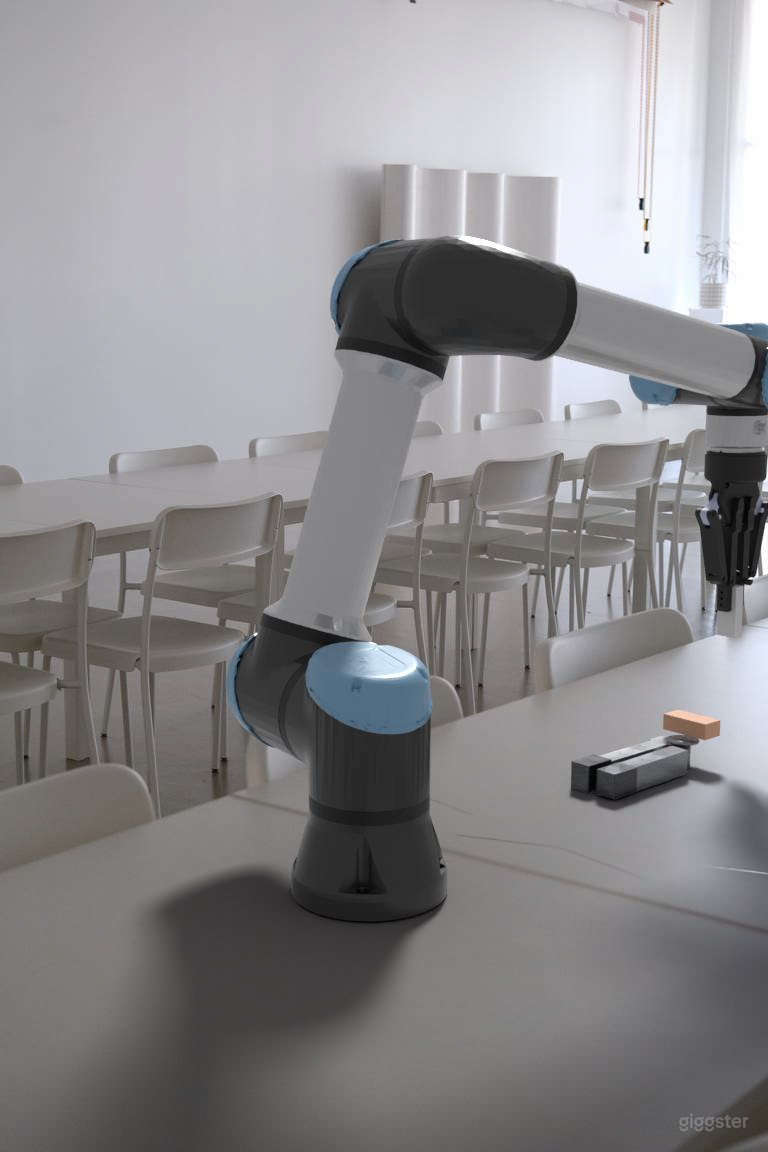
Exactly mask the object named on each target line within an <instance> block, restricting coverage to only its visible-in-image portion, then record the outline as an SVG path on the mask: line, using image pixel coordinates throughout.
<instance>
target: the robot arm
mask: <svg viewBox="0 0 768 1152" xmlns="http://www.w3.org/2000/svg"><path fill="white" fill-rule="evenodd" d="M337 273H338V274H337V276H336V277H335V280H334V282H333V284H332V288H331V293H330V298H329V299H330V300H329V301H330V302H329V304H330V305H329V310H330V316H331V320H333V321H334V324H335V326H334V329H335V332H336V333H337V335H338V338H337V343H336V347H335V350H334V354H333V356H334V358H335V360H336V361H337V363H338V365H339V367H340V370H341V371H342V375H343V376H342V379H341V383H340V387H339V391H338V394H337V398H336V402H335V406H334V409H333V412H332V416H331V420H330V424H329V427H328V431H327V434H326V438H325V442H324V446H323V449H322V453H321V457H320V460H319V464H318V466H317V471H316V474H315V478H314V481H313V485H312V489H311V492H310V496H309V499H308V503H307V507H306V510H305V515H304V518H303V521H302V525H301V529H300V533H299V536H298V539H297V544H296V547H295V550H294V554H293V558H292V562H291V565H290V569H289V572H288V576H287V580H286V584H285V587H284V590H283V591H284V592H283V595H282V596H281V598H279V600H278V601H275V602H274V603H272V604H270V605H269V606H267V607H265V608H263V612H262V615H261V618H260V622H259V625H258V628H257V632H255V633H253V634H251V635H250V636H249V638H247V639H246V640H245V641H242V642H241V644H240V645H239V646H238V647H237V648H236V649H235V652H234V653H233V655H232V657H231V659H230V662H229V664H228V668H227V672H226V678H225V692H226V697H227V698H226V699H227V701H228V705H229V708H230V710H231V712H232V714H233V716H234V718H235V719H236V720H237V722H238V723H239V724H240V726H242V727H243V729H245V730H246V731H247V732H249V733H250V734H251V735H252V736H253V737H254V738H255V739H256V740H258V741H259V742H261V743H262V744H264V745H265V746H267V747H270V748H274V749H277V750H279V751H281V752H283V753H285V754H287V755H289V756H291V757H293V758H294V759H296V760H297V761H298V760H299V761H300V762H302V763H304V764H306V765H308V767H307V768H308V769H307V770H308V816H307V820H306V823H305V826H304V830H303V833H302V837H301V840H300V844H299V847H298V851H297V852H298V853H297V856H296V857H295V859H294V862H293V864H292V866H291V871H290V872H291V873H290V874H291V881H290V882H291V884H290V885H291V886H290V887H291V895H292V898H293V899H294V901H295V902H296V903H297V904H298V905H300V906H302V908H304V909H306V910H308V911H310V912H312V913H315V914H317V915H321V916H322V917H323V916H324V917H328V918H333V919H336V920H343V921H351V922H352V921H353V922H356V921H357V922H383V921H384V922H385V921H395V920H401V919H406V918H411V917H415V916H418V915H421V914H423V913H426V912H428V911H431V910H432V909H433V908H436V907H437V906H438V905H440V904H441V903H442V902H444V900H445V899H446V896H447V894H448V885H449V881H448V875H449V874H448V873H449V872H448V866H447V863H446V860H445V858H444V857H443V853H442V849H441V845H440V841H439V838H438V835H437V832H436V829H435V827H434V824H433V820H432V816H431V808H430V807H431V796H430V795H431V794H430V793H431V740H432V739H431V733H432V732H431V731H432V730H431V725H432V722H431V721H432V718H431V717H432V713H433V712H432V711H433V708H434V707H433V704H434V703H433V697H432V690H431V681H430V680H431V679H430V674H429V671H428V669H427V667H426V666H425V664H424V663H423V661H422V660H420V658H418V657H417V656H416V655H414V654H413V653H411V652H408V651H407V650H404V649H403V648H399V647H396V646H393V645H388V644H385V645H379V644H377V642H372V641H373V638H372V635H371V634H370V632H369V630H368V629H367V627H366V625H365V622H364V616H365V610H366V608H367V604H368V601H369V597H370V593H371V589H372V587H373V582H374V579H375V575H376V572H377V568H378V565H379V564H378V563H379V560H380V556H381V553H382V549H383V547H384V546H383V545H384V541H385V538H386V535H387V530H388V527H389V524H390V520H391V516H392V512H393V509H394V505H395V502H396V498H397V495H398V491H399V487H400V483H401V480H402V475H403V474H404V469H405V464H406V461H407V458H408V455H409V452H410V451H409V450H410V446H411V444H412V440H413V436H414V432H415V428H416V424H417V422H418V417H419V414H420V410H421V406H422V404H423V403H422V402H423V399H424V398H425V396H426V395H428V394H429V393H431V392H432V391H434V390H436V389H438V388H440V387H441V386H443V383H444V378H445V375H446V371H447V368H448V364H449V360H450V357H459V356H506V357H515V358H516V357H517V358H522V359H526V360H529V361H534V362H543V361H547V360H549V359H551V358H553V357H554V356H555V357H558V358H563V359H567V360H571V361H574V362H578V363H582V364H587V365H590V366H593V367H596V368H597V367H598V368H601V369H605V370H608V371H613V372H617V373H620V374H625V375H628V382H629V385H630V389H631V390H632V393H633V394H634V395H635V397H636V398H637V399H638V400H639V401H640V402H642V403H644V404H647V405H655V406H656V405H660V406H665V407H668V406H670V405H690V406H691V405H693V406H705V408H706V409H705V412H706V414H705V431H704V432H705V433H704V434H705V435H704V445H705V446H706V447H709V449H708V450H706V452H705V453H704V466H703V468H704V470H703V471H704V472H703V477H704V479H705V480H706V481H709V482H710V484H711V486H710V490H709V494H708V503H706V505H705V506H704V508H701V507H697V508H696V509H695V512H694V515H695V518H696V521H697V523H698V527H699V532H700V542H701V549H702V550H701V551H702V556H703V557H702V558H703V564H704V565H703V566H704V574H705V575H704V576H705V580H706V581H707V582H708V583H710V584H711V585H715V586H716V587H717V588H716V590H717V591H716V609H717V613H716V614H717V616H716V617H717V618H716V636H722V637H727V638H730V639H731V638H732V639H738V638H741V637H742V633H743V632H742V630H743V612H744V611H743V608H744V606H745V605H744V604H745V602H744V601H745V586H752V584H754V583H753V582H754V579H753V578H755V577H756V576H757V573H758V567H759V561H760V556H761V550H762V545H763V540H764V534H765V529H766V522H767V519H768V501H765V500H763V499H762V498H761V497H760V496H761V491H760V486H759V483H762V482H764V481H765V480H766V479H767V474H768V473H767V472H768V469H767V468H768V453H767V452H766V451H764V450H763V448H765V447H767V445H768V324H767V323H764V322H716V323H712V322H709V321H705V320H703V319H700V318H697V317H692V316H690V315H687V314H684V313H680V312H677V311H674V310H670V309H668V308H665V307H661V306H659V305H655V304H652V303H648V302H646V301H643V300H639V299H635V298H632V297H628V296H625V295H623V294H619V293H615V292H613V291H610V290H606V289H603V288H599V287H597V286H593V285H590V284H588V283H587V284H586V283H584V282H582V281H581V282H580V281H577V278H576V277H575V275H574V273H573V272H572V270H570V269H569V268H568V267H567V266H564V265H562V264H560V263H555V262H553V261H549V260H546V259H544V258H541V257H538V256H536V255H535V256H534V255H532V254H529V253H526V252H523V251H520V250H517V249H516V248H513V247H508V246H505V245H502V244H499V243H497V242H494V241H490V240H487V239H483V238H478V237H474V236H469V235H468V236H467V235H462V234H460V235H459V234H457V235H456V234H454V235H443V236H437V237H428V238H427V237H426V238H417V239H405V238H401V239H400V238H398V239H389V240H385V241H381V242H378V243H376V244H374V245H369V246H368V247H365V248H363V249H361V250H359V251H358V252H356V253H355V254H354V255H352V256H351V257H349V259H348V260H347V261H346V262H345V263H344V265H343V266H342V267H341V269H340V270H339V272H337ZM750 578H752V579H750Z"/></svg>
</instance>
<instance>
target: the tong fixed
mask: <svg viewBox="0 0 768 1152" xmlns="http://www.w3.org/2000/svg"><path fill="white" fill-rule="evenodd" d="M667 737H668V736H667ZM667 737H666V736H663V735H659V736H656V737H653V738H649V739H648V740H647V741H645V742H640V743H637V744H634V745H631V746H628V747H624V748H621V749H617V750H614V751H610V752H607V753H604V754H601V755H597V754H594V753H593V754H591V755H587V756H584V757H580V758H577V759H574V760H571V763H570V764H571V767H570V768H571V769H570V770H571V771H570V788H571V789H573V790H577V791H579V792H583V793H586V794H590V793H594V792H596V789H597V769H599V768H602V767H606V766H609V765H612V764H615V763H618V762H623V761H626V760H629V759H632V758H635V757H638V756H642V755H645V754H648V753H651V752H654V751H657V750H660V749H663V748H666V747H669V746H674V747H678V748H682V749H686V750H688V761H687V770H688V769H690V768H691V753H692V752H691V751H692V750H691V749H692V746H680V745H674V744H671V743H668V742H667V741H666V738H667Z"/></svg>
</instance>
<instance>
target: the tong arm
mask: <svg viewBox="0 0 768 1152" xmlns="http://www.w3.org/2000/svg"><path fill="white" fill-rule="evenodd" d="M666 741H667V742H668V743H671V744H674V745H680V746H691V747H692V746H696V745H698V744H699V743H700V739H698V738H694V737H691V736H687V735H683V734H675V735H674V734H672V735H668V736H667V738H666ZM687 761H688V750H686V749H682V748H678V747H674V746H669V747H666V748H663V749H660V750H657V751H654V752H651V753H648V754H645V755H642V756H638V757H635V758H632V759H629V760H626V761H623V762H618V763H615V764H612V765H609V766H606V767H602V768H599V769H597V789H596V791H595V792H596V795H598V796H602V797H605V798H609V799H611V800H614V801H616V800H617V799H621V798H624V797H627V796H629V795H630V796H631V795H633V794H635V793H637V792H639V791H642V790H645V789H648V788H650V787H653V786H656V785H659V784H663V783H665V782H668V781H671V780H673V779H677V778H679V777H682V776H685V775H687V774H688V769H687Z"/></svg>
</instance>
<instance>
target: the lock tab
mask: <svg viewBox="0 0 768 1152" xmlns="http://www.w3.org/2000/svg"><path fill="white" fill-rule="evenodd" d="M662 722H663V723H662V730H666V731H669V732H672V733H676V734H679V735H687V736H691V737H694V738H698V739H699V740H703V741H708V740H710V739H714V738H716V737H720V735H721V719H717V718H713V717H710V716H706V715H701V714H699V713H698V714H697V713H693V712H690V711H685V710H681V709H676V710H671V711H669V712H665V713H663V721H662Z"/></svg>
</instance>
